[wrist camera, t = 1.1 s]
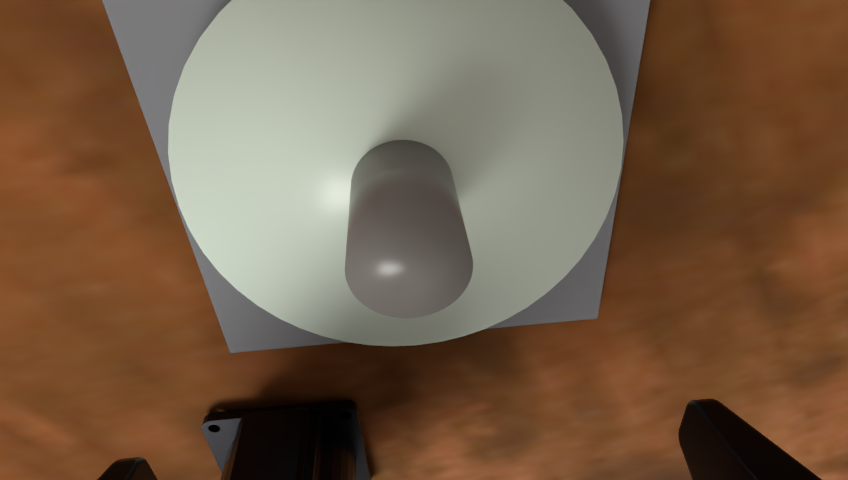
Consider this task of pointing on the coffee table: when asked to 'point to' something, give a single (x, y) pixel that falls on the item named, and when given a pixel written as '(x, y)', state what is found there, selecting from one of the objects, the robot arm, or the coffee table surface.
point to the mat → (238, 316)
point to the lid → (395, 159)
